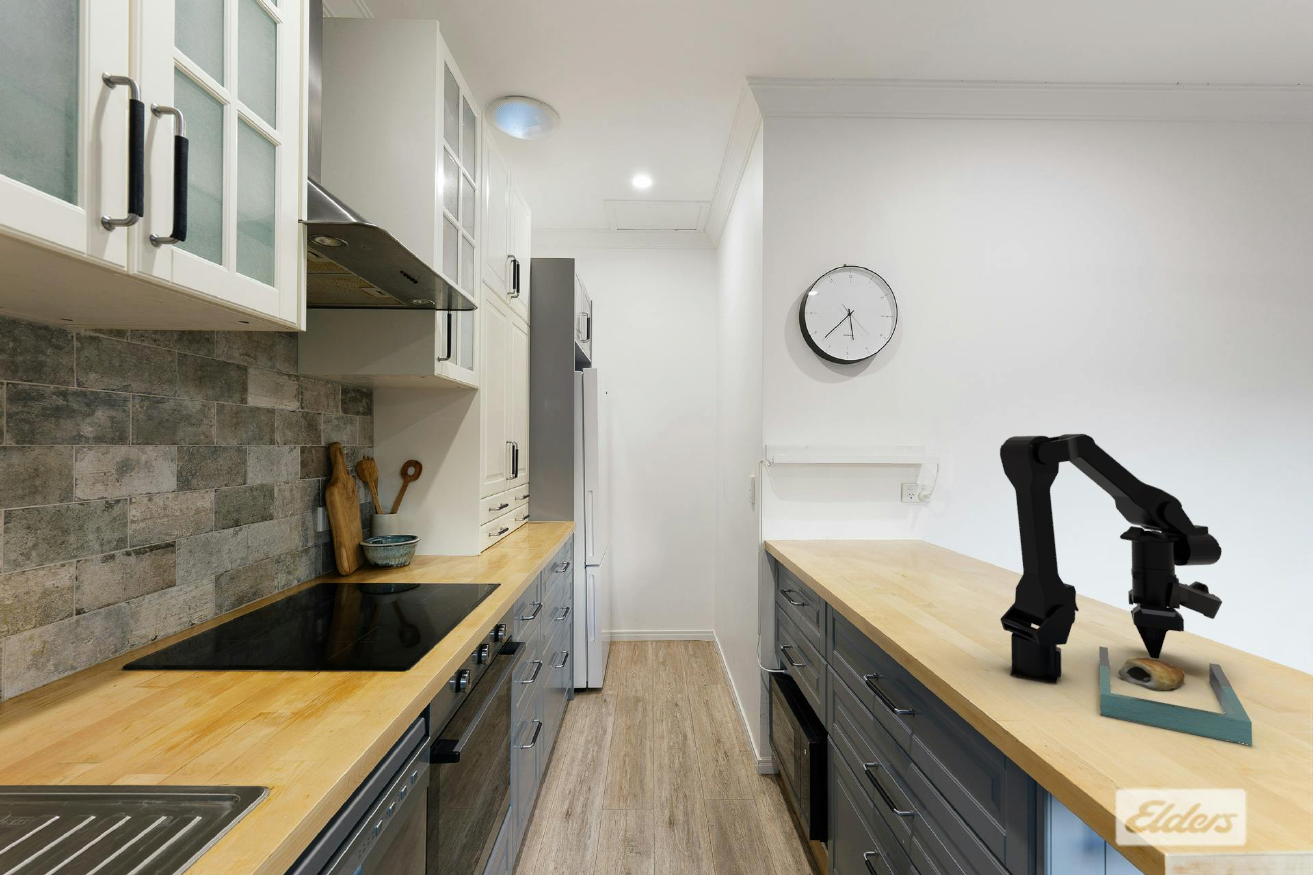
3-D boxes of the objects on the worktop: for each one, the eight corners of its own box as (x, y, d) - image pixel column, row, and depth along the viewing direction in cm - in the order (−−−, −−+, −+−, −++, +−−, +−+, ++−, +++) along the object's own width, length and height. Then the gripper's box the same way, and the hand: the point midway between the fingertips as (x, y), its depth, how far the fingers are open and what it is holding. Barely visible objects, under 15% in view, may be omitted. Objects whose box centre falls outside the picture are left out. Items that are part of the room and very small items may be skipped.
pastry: (1150, 670, 102) (1150, 648, 102) (1199, 685, 96) (1199, 661, 96) (1115, 679, 98) (1114, 655, 98) (1162, 695, 92) (1162, 670, 92)
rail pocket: (1100, 714, 85) (1100, 693, 85) (1099, 663, 105) (1099, 646, 105) (1252, 746, 76) (1251, 722, 76) (1219, 683, 96) (1219, 664, 96)
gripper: (1226, 583, 91) (1228, 686, 91) (1207, 562, 106) (1209, 651, 106) (1133, 574, 98) (1134, 670, 98) (1127, 556, 113) (1128, 640, 113)
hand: (1154, 657), depth 103 cm, fingers closed
